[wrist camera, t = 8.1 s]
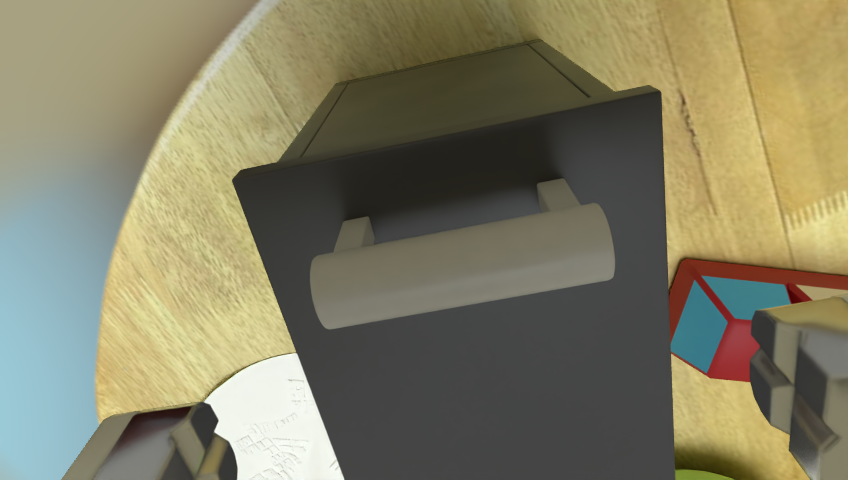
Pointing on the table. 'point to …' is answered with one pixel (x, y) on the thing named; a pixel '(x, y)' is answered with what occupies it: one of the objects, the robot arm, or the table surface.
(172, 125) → the table surface
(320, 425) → the plaque
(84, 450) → the robot arm
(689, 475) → the teapot
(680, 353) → the toy truck
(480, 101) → the lidded storage box
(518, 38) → the table surface
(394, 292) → the storage box lid
